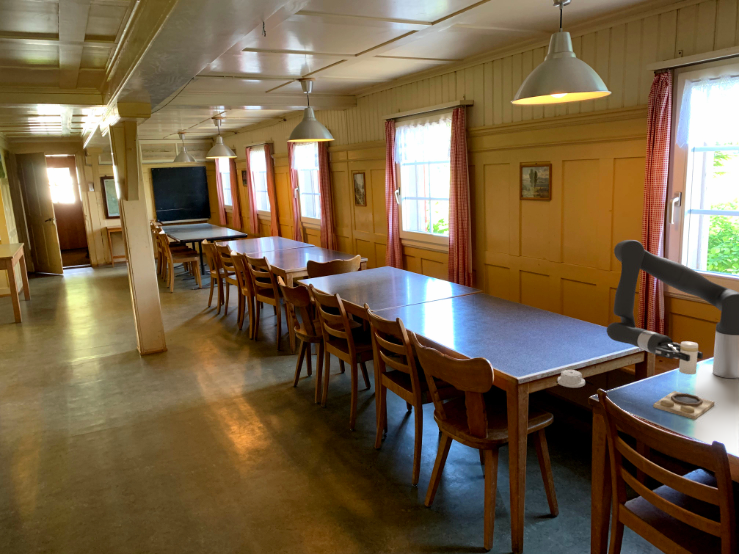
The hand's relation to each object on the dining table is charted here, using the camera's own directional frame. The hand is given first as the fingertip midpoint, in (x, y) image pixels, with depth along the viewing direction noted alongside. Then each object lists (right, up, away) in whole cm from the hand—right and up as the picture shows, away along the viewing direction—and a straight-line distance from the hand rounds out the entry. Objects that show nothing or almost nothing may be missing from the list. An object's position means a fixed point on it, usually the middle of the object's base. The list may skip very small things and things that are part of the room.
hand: (695, 357), depth 179 cm
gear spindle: (0, -5, +4) cm, 7 cm away
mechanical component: (-31, -15, +29) cm, 45 cm away
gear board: (-1, -17, +4) cm, 18 cm away
